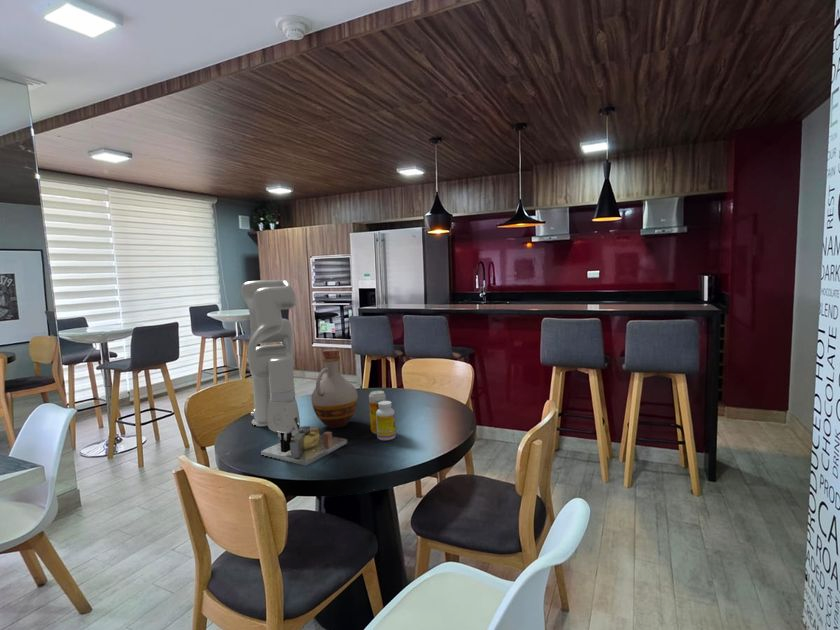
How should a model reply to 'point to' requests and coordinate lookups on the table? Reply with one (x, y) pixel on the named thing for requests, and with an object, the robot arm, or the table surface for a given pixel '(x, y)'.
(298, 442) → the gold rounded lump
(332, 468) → the table surface
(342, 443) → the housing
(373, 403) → the orange pill bottle
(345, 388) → the jug
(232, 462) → the table surface
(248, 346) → the robot arm
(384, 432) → the supplement bottle
